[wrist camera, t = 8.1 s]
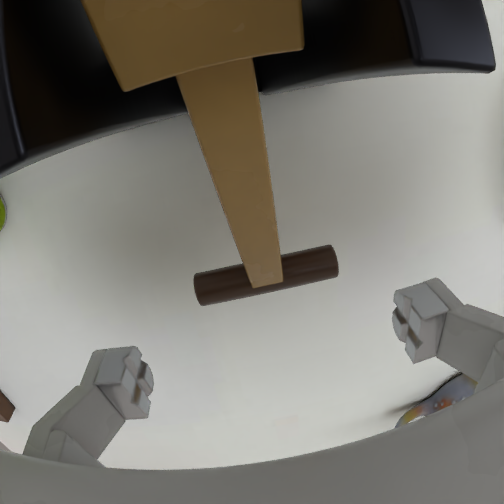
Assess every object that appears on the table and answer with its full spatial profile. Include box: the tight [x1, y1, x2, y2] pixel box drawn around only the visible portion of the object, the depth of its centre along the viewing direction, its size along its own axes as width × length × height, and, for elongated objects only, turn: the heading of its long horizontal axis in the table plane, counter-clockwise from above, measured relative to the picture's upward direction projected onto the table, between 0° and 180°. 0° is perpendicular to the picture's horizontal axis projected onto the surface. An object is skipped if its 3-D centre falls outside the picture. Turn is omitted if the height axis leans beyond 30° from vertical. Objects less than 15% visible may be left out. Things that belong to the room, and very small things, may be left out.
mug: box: [394, 374, 478, 429], centre depth 22 cm, size 12×7×7 cm, turn 93°
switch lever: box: [80, 0, 339, 306], centre depth 6 cm, size 12×5×2 cm
